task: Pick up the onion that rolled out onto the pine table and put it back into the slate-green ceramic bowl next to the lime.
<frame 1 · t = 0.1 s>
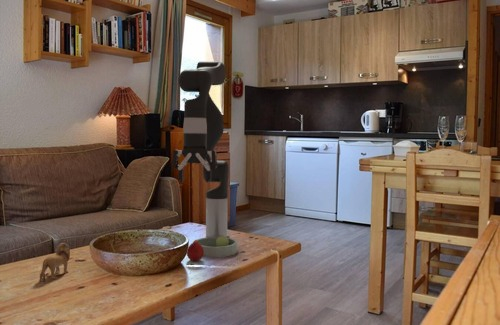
hand: (194, 181, 142), 29 cm above the table, tool pointing down, fingers open, 8 cm apart
onion: (195, 263, 150), on the table
lime: (222, 249, 166), point 1 cm above the table, touching bowl
bowl: (215, 253, 163), on the table
lion figurine: (55, 276, 135), on the table
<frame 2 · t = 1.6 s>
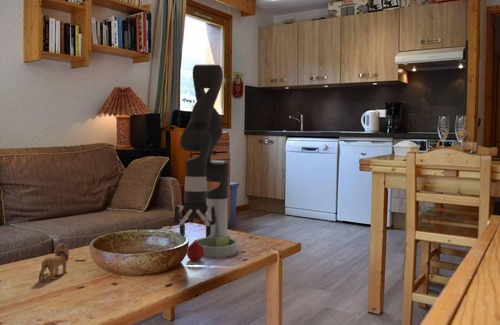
hand: (195, 236, 150), 9 cm above the table, tool pointing down, fingers open, 8 cm apart
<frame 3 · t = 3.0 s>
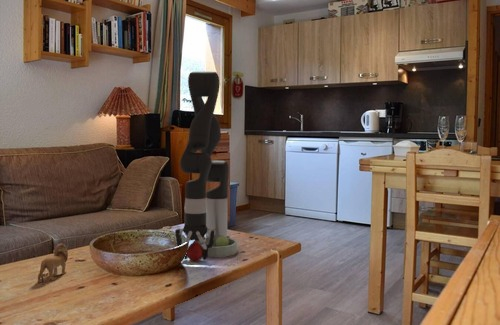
hand: (195, 258, 150), 1 cm above the table, tool pointing down, fingers closed on onion, 6 cm apart
onion: (195, 263, 150), on the table, touching gripper
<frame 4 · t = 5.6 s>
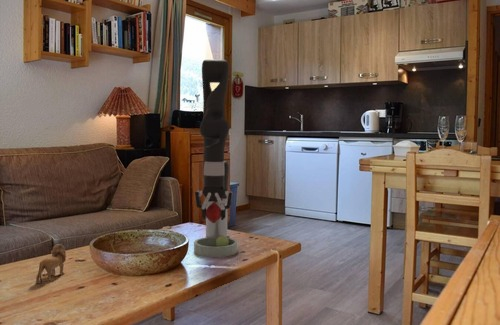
hand: (213, 219, 160), 13 cm above the table, tool pointing down, fingers closed on onion, 6 cm apart
onion: (213, 223, 160), point 12 cm above the table, touching gripper
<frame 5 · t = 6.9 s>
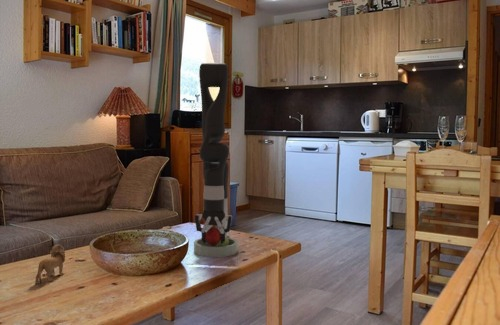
hand: (213, 242, 160), 5 cm above the table, tool pointing down, fingers closed on onion, 6 cm apart
onion: (213, 247, 160), point 3 cm above the table, touching gripper
when the fingers open (3 cm above the table, at t = 8.2 s): onion stays where it is, resting on bowl.
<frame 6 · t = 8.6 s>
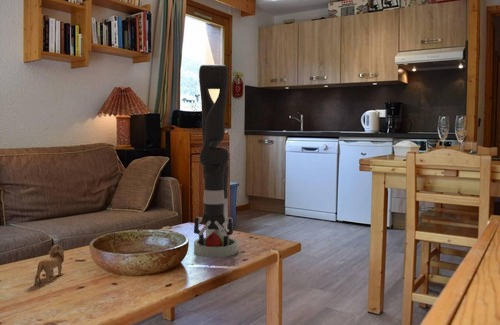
hand: (213, 245, 160), 4 cm above the table, tool pointing down, fingers open, 8 cm apart
onion: (213, 253, 160), point 1 cm above the table, touching bowl
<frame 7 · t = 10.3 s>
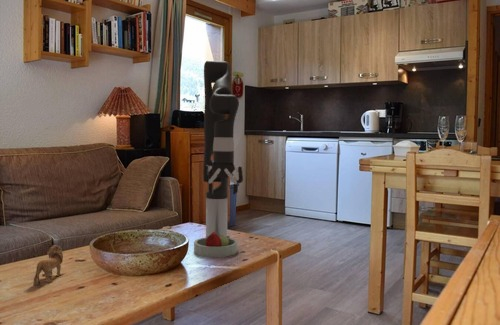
hand: (223, 193, 159), 23 cm above the table, tool pointing down, fingers open, 8 cm apart
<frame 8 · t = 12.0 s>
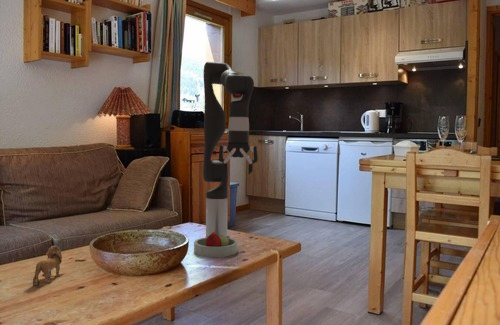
hand: (238, 173, 160), 30 cm above the table, tool pointing down, fingers open, 8 cm apart
at the end: onion 2.5 cm from the bowl (horizontally); onion point 0.6 cm above the table; lime 3.6 cm from the bowl (horizontally) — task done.
